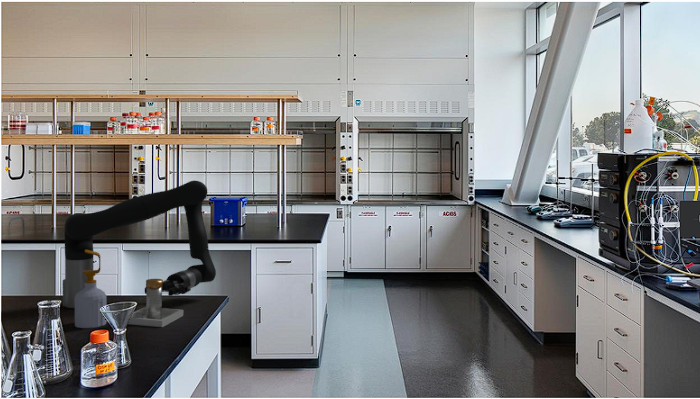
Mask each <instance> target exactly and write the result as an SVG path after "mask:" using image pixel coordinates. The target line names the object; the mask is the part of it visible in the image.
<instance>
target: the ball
mask: <svg viewBox="0 0 700 399" xmlns="http://www.w3.org/2000/svg"><path fill="white" fill-rule="evenodd" d="M133 317H135V318H143V315H142V313H140V312H137V313H135V314H134V315H133Z"/></svg>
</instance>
